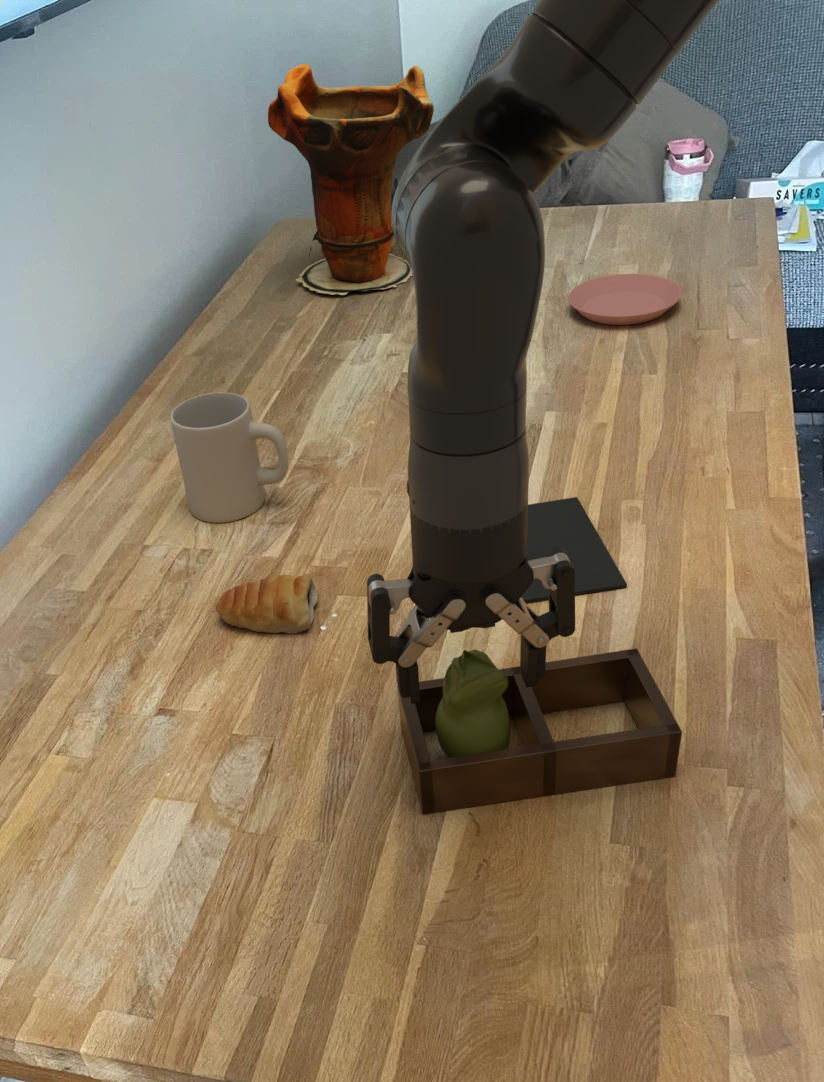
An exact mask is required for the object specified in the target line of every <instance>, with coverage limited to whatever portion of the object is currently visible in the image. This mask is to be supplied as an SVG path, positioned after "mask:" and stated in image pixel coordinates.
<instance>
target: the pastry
mask: <svg viewBox="0 0 824 1082" xmlns="http://www.w3.org/2000/svg"><path fill="white" fill-rule="evenodd" d="M318 597H319V594H318V590H317V589H316V585H315V581H314V580H313V578H312V577H311V576H310V575H309V574H307V573H303V574H302V575H290V574H275V573H274V574H273V573H272V574H269V575H267V576H266V577H264V578H262V579H257V580H255V581H252V582H250V581H248V582H243V583H241V584H240V585H236V586H234V587H232V588H229V589H227V590H226V591H225V592H224V593H223V594H222V595H221V597H220V598H219V600H218V602H217V603H216V604H215V610H216V612H217V614H218V615H219V616H220V618H221V619H222V620H223V621H224V622H225V623H226V624H229V625H231V626H232V627H238V628H239V629H247V630H250V631H252V632H257V633H261V632H263V633H267V634H268V633H269V634H272V633H273V634H279V633H285V634H298V633H302V632H305V631H307V630H309V629H310V628H311V626H312V624H313V623H314V622H313V620H314V618H315V616H314V614H315V612H314V611H315V610H314V607H315V606H316V605H317V603H318Z"/></svg>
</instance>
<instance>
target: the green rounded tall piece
mask: <svg viewBox="0 0 824 1082" xmlns="http://www.w3.org/2000/svg"><path fill="white" fill-rule="evenodd" d="M443 678H444V681H443V698H442V699H441V701H440V703H439V706H438V708H437V712H436V719H435V726H436V730H435V732H436V737H437V741H438V743H439V746H440V748H441V751H442V752H443V754H444V755H445V757H446V758H452V757H458V756H465V755H471V754H478V753H484V752H491V751H498V750H504V749H509V745H510V741H511V723H510V718H509V714H508V710H507V706H506V704H505V701H504V699H503V697H502V694H503V693H504V692H505V690H506V689H507V687H508V678H507V677H506V675H505V674H504V673H502V672H501V671H500V670H499V668H498V667H497V666H496V665H495V663H494V662H493V661H492V660H491V658H490V657H489V655H488V654H486V652H484V651H481V650H479V649H472V650H466V649H464V650H463V652H462V654H461V655H460V656H457V657H453V659H452V660H451V663H450V664H449V666H447V669H446V671H445V675H444V677H443Z"/></svg>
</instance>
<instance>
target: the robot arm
mask: <svg viewBox="0 0 824 1082" xmlns="http://www.w3.org/2000/svg"><path fill="white" fill-rule="evenodd" d="M719 2H720V0H538V1H537V3H536V5H534V7H533V9H532V10H531V14H529V15H528V16H527V18H526V19H525V21H524V22H523V24H522V25H521V27H520V29H519V30H518V32H517V34H516V35H515V37H514V39H513V40H512V42H511V43H510V45H509V46H508V48H507V49H506V50H505V51H504V52H503V54H502V55H501V56H500V57H499V58H497V60H496V61H495V63H493V65H491V66H490V67H489V68H488V69H487V70H486V71H485V72H484V73H483V74H482V75H481V76H480V77H479V78H478V79H477V80H476V81H475V82H474V83H473V84H472V86H470V87H469V89H468V90H467V91H466V92H465V93H464V94H463V95H462V96H461V98H460V99H458V101H457V102H456V103H455V104H454V105H453V106H452V107H451V108H450V110H449V111H448V112H447V113H446V114H445V115H444V116H443V117H442V118H441V120H440V121H439V122H438V123H437V124H436V125H435V126H434V128H433V129H432V130H431V131H430V133H428V134H427V136H426V137H425V139H424V140H423V141H422V143H421V144H420V146H419V147H418V148H417V150H416V151H415V153H414V154H413V156H412V158H411V159H410V161H409V162H408V164H407V165H406V167H405V169H404V170H403V173H402V175H401V177H400V179H399V181H398V183H397V186H396V188H395V192H394V194H393V195H394V196H393V199H392V202H391V226H392V230H393V234H394V236H393V239H394V241H395V243H396V245H397V247H398V249H399V251H400V252H401V254H402V256H403V258H404V260H407V262H408V264H409V266H410V267H411V269H412V272H413V273H412V277H413V282H414V284H413V285H414V291H415V293H414V294H415V305H416V342H415V343H414V344H413V346H412V348H411V350H410V354H409V358H408V365H407V404H408V405H407V406H408V423H409V424H408V425H409V448H408V457H407V480H406V493H407V495H408V496H407V497H408V499H409V500H408V501H409V518H410V519H409V520H410V521H409V522H410V537H411V538H410V540H411V556H412V566H411V570H410V572H409V574H408V576H407V578H402V579H393V580H385V577H384V575H382V574H380V573H373V574H371V575H370V576H369V577H368V578H367V580H366V605H367V606H366V607H367V609H366V610H367V614H366V615H367V641H368V645H369V651H370V653H371V658H372V661H373V662H374V664H377V665H383V664H385V663H388V662H391V663H394V664H395V676H396V677H395V678H396V684H397V685H398V688H399V692H400V694H401V696H402V698H408V697H409V701H410V704H416V703H420V690H419V682H420V674H419V671H420V670H419V664H418V659H420V657H421V656H422V655H423V653H425V651H426V649H427V648H429V649H430V648H433V646H434V645H435V644H436V643H437V642H438V640H440V638H441V637H442V636H443V634H444V633H445V632H446V630H447V631H449V632H450V634H455V633H461V632H464V631H467V630H470V629H474V628H475V629H476V628H477V629H478V628H479V629H488V628H495V627H496V624H497V623H499V622H501V621H502V620H503V622H505V623H506V624H507V626H509V627H510V628H511V629H512V630H513V631H514V632H516V633H517V635H520V651H519V652H520V654H519V655H520V656H519V659H520V660H519V666H520V672H521V676H522V678H523V681H524V683H525V686H526V687H534V686H537V679H540V678H543V676H544V674H545V666H546V662H547V647H548V646H547V645H548V644H549V643H550V641H551V640H552V639H555V638H556V637H559V636H560V637H561V638H568V637H570V636H572V635H573V634H574V633H575V631H576V596H575V571H574V568H573V566H572V565H571V562H570V560H569V558H568V556H567V555H566V553H565V551H564V549H562V548H561V547H555V548H553V549H551V550H550V551H549V552H548V555H547V557H545V558H540V559H535V560H530V561H528V560H527V526H528V505H529V486H530V485H529V484H530V457H529V456H530V454H529V447H528V439H527V395H528V393H527V391H528V373H527V356H528V352H529V349H530V345H531V342H532V338H533V335H534V329H535V324H536V320H537V314H538V310H539V305H540V300H541V295H542V289H543V283H544V276H545V265H546V264H545V263H546V241H545V240H546V237H545V230H544V229H545V228H544V227H545V226H544V221H543V215H542V212H541V209H540V206H539V203H538V201H537V199H536V197H535V195H534V194H535V193H536V191H537V190H538V189H539V188H540V187H541V186H542V185H543V183H545V181H547V179H548V178H549V177H551V175H552V174H553V173H554V172H555V171H556V169H558V168H559V167H560V165H561V164H562V163H563V162H564V161H565V160H566V159H567V158H568V157H569V156H570V155H572V154H574V153H577V152H586V151H593V150H596V149H598V148H600V147H601V146H604V145H605V144H606V143H607V142H608V141H609V140H611V139H612V137H613V136H615V135H616V133H617V132H618V131H620V129H621V128H622V127H623V126H624V125H625V123H626V122H627V121H628V120H629V119H630V118H631V116H632V115H633V113H634V112H635V111H636V109H637V105H640V104H641V103H642V102H643V101H644V99H645V98H646V97H647V95H648V94H649V93H650V91H651V90H652V89H653V87H654V86H655V85H656V84H657V82H658V81H659V79H660V78H661V77H662V76H663V74H665V72H666V70H668V68H669V67H670V65H671V64H672V63H673V62H674V60H675V59H676V58H677V55H679V53H681V51H682V49H683V48H685V46H686V44H687V43H688V42H689V40H690V39H691V38H692V36H693V35H694V34H695V32H696V31H697V30H698V28H699V27H700V26H701V25H702V23H703V22H704V21H705V19H706V18H707V17H708V16H709V14H710V13H711V12H712V10H713V9H714V8H715V7H716V5H717V4H718V3H719ZM533 579H539V580H540V581H541V583H542V585H543V587H544V588H546V589H548V594H549V600H548V611H547V612H545V613H543V614H540V615H539V614H538V613H537V612H536V611H535V610H533V609H532V608H531V607H530V605H529V604H528V603H525V602H524V600H523V599H522V597H521V596H522V595H523V594H524V593H525V591H526V590H527V589H528V588H529V586H530V585H531V583H532V581H533ZM407 598H409V599H410V601H411V602H412V603H413V604H414V606H413V607H412V608H411V610H410V611H409V613H408V616H407V619H406V621H405V623H404V624H403V625H402V627H401V628H400V629H399V631H398V632H397V634H396V635H395V636H394V635H391V623H390V622H391V616H393V615H395V614H396V613H397V611H398V610H399V609H400V606H401V603H402V601H404V600H405V599H407ZM390 615H391V616H390ZM398 688H397V689H398Z"/></svg>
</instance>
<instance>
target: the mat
mask: <svg viewBox="0 0 824 1082" xmlns="http://www.w3.org/2000/svg"><path fill="white" fill-rule="evenodd" d="M555 547H561V548H562V549H564V551H565V553H566V555H567V556H568V558H569V560H570V562H571V565H572V566H573V568H574V571H575V597H576V596H582V595H588V594H593V593H600V592H607V591H613V590H621V589H626V588H628V582H626V580H625V578H624V577H623V575H622V573H621V571H620V570H619V568H618V566H617V564H616V562H615V560H614V559H613V557H612V555H611V554H610V551H609V550H608V548H607V546H606V545H605V543H604V541H603V540H602V538H601V536H600V534H599V533H598V531H597V529H596V528H595V526H594V524H593V523H592V520H591V519H590V517H589V515H588V513H587V512H586V510H585V507H583V505H582V503H581V501H580V500H579V498H578V497H577V496H574V497H568V498H567V497H566V498H561V499H555V500H549V501H542V502H535V503H530V504H529V503H528V526H527V560H528V561H530V560H535V559H540V558H545V557H547V555H548V552H549V551H550V550H551V549H553V548H555ZM521 597H522V599H523V600H524V602H525V603H526V604H529V603H531V604H532V603H537V602H543V601H549V594H548V589H546V588H544V587H543V585H542V583H541V581H540V580H539V579H533V581H532V583H531V585H530V586H529V588H528V589H527V590H526V591H525V593H524V594H523V595H522V596H521Z"/></svg>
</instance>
